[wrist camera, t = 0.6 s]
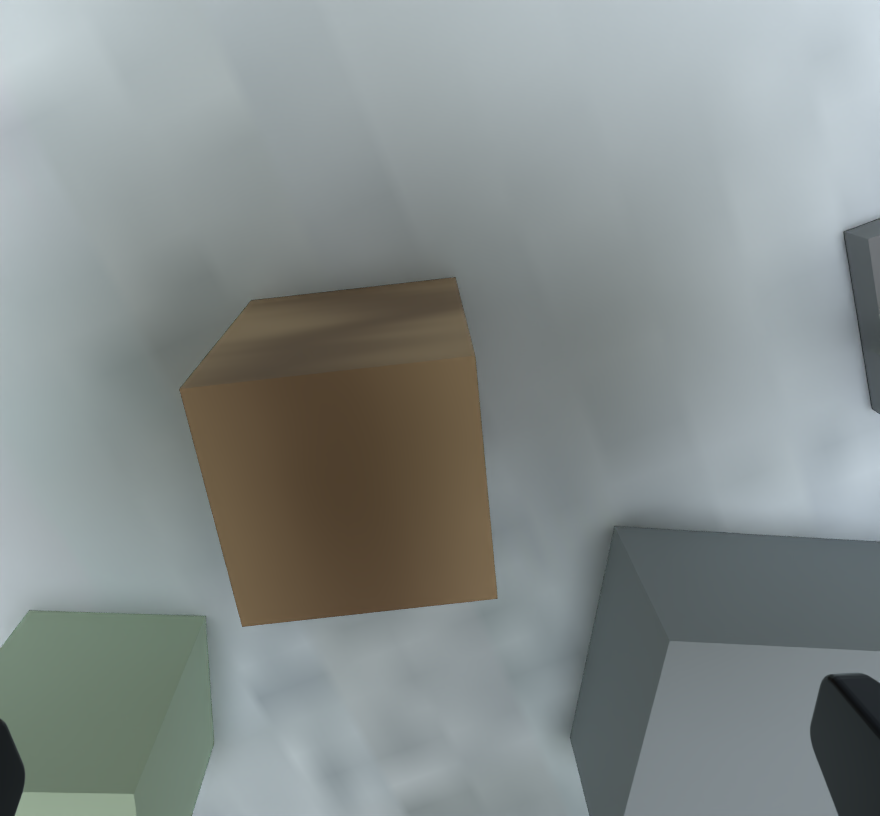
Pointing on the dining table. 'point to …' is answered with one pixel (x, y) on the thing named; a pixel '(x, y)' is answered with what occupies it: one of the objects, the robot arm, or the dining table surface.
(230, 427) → the walnut block
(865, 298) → the plaque
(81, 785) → the sage block
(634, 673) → the slate base
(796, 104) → the dining table surface
